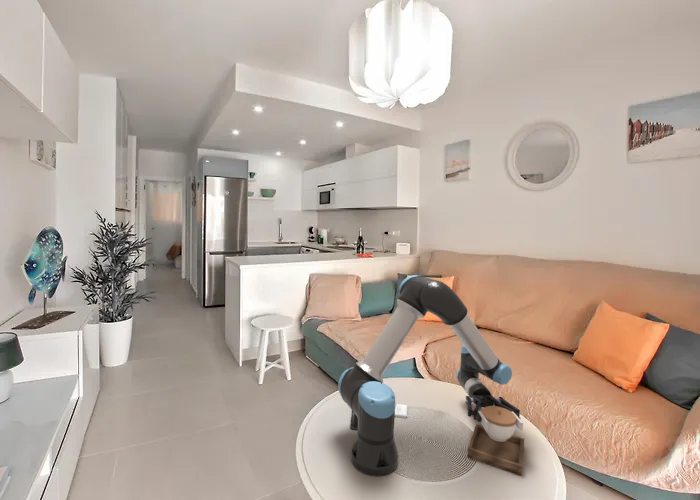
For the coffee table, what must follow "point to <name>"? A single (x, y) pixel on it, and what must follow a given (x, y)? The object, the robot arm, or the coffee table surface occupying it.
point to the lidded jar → (499, 423)
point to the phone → (354, 421)
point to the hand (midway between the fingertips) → (504, 426)
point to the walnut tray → (497, 451)
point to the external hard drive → (401, 411)
